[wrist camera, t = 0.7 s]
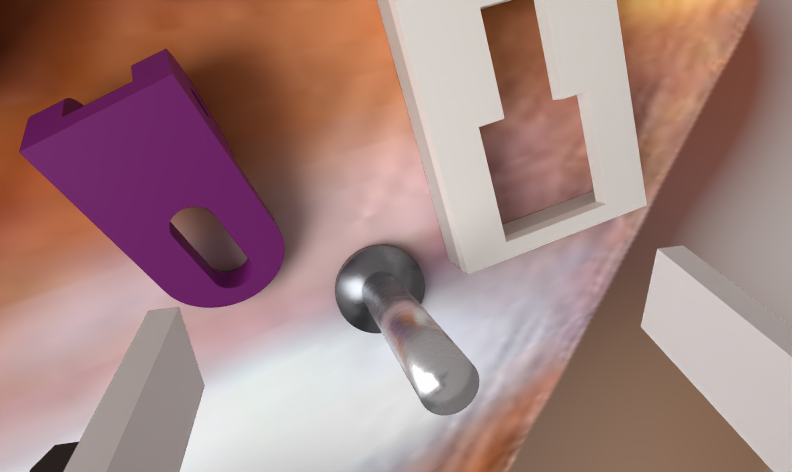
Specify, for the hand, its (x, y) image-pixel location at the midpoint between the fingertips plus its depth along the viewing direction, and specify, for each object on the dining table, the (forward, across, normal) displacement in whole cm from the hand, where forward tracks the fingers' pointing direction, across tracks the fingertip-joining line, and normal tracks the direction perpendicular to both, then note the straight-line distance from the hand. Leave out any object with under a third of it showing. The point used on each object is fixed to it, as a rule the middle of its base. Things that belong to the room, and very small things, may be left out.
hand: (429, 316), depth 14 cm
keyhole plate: (+32, -13, +2) cm, 35 cm away
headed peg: (+27, 0, +16) cm, 31 cm away
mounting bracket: (+28, +14, +6) cm, 32 cm away
